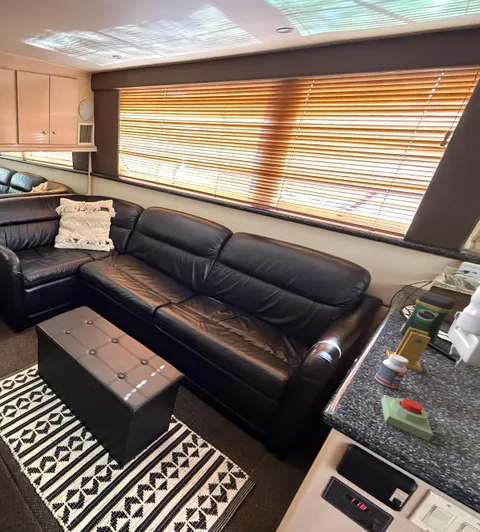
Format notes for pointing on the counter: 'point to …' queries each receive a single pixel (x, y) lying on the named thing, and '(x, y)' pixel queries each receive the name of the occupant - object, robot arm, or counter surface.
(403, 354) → the bracket
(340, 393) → the counter surface
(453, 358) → the lever
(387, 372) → the pill bottle
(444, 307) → the coffee jar
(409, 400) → the button
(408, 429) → the button box
